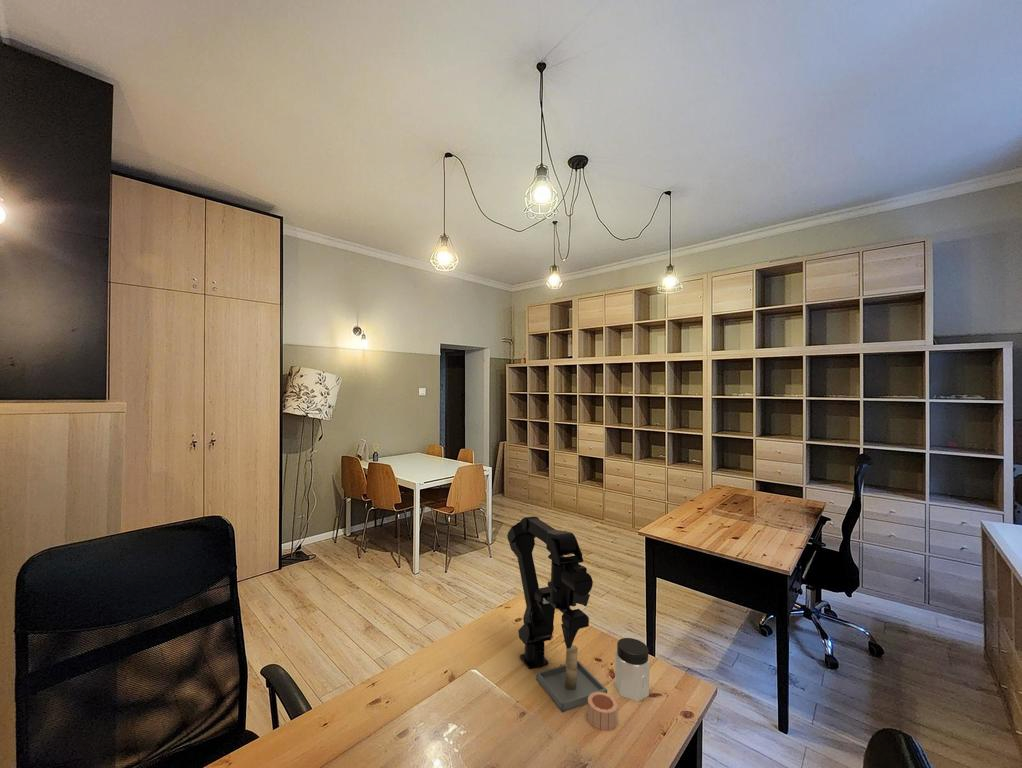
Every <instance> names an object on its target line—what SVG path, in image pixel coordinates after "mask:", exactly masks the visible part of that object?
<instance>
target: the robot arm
mask: <svg viewBox="0 0 1022 768" xmlns="http://www.w3.org/2000/svg"><path fill="white" fill-rule="evenodd" d="M506 537H507V541H508V543H509V548H510V550H511V551H512V552H513V554H514V555H515V556H516V558H517V563H518V566H519V567H518V568H519V574H520V579H521V583H522V589H523V594H524V595H523V596H524V600H525V605H526V606H525V611H524V614H523V617H522V619H523V625H521V627H520V628H519V629H517V630H518V639H520V641H521V643H523V645H524V653H521V654H520V655H519V657H520V659H521V660H522V661H523V663H524V664H525V665H526V667H528V669H530V670H531V669H535V668H539V667H542V666H546V665H548V664H549V660H548V659H547V658H546V657H545V646H546V645H545V642H547V641H551V640H552V636H553V633H554V628H555V626H554V621H555V613H556V610H559V611H560V612H561V613H562V615H561V622H562V623H561V624H560V626H561V631H562V635H563V639H564V644H565V647H566V648H567V649H569V648H571V646H572V645H573V643H574V641H575V637H576V636H577V633H578V632H579V630H580V629H584V628H588V627H589V626H590V617H589V616H588V615H587V614H586V613H585V612H583V611H582V610H581V609H580V608H576V609H572V608H571V607H576V606H577V604H578V605H582V606H584V607H587V605H588V603H589V599H590V596H591V594H590V592H591V590H592V589H593V584H594V580H593V578H592V577H593V576H592V575H590V574H589V573H588V572H587V571H588V570H587V567H586V566H584V565H582V564H581V563H584V558H583V553H582V551H581V548H580V545H579V543H578V540H577V538H576V536H575V534H574V533H573V532H571V531H567V530H560V529H559V530H558V529H556V528H554V527H552V526H551V525H549V524H548V523H547V522H546V523H545V522H544V521H542V520H541V519H540V518H539V516H535V515H533V516H525V517H523V518H522V519H521V520H520V521H519V522H517V523H516V524H514V525H513V526H511V528H509V530H508V532H507V535H506ZM536 538H537V539H538V540H540V541H541V542H543V543H544V544H545V545H546V550H547V551H548V552H549V553H550V554H549V555H548V556H547V557H548V559H549V560H551V562H550V563H551V565H550V566H551V567H550V581H547V586H544V587H539V581H538V577H537V571H536V565H535V561H534V556H533V551H534V548H535V544H536V541H535V539H536ZM568 555H571V556H568Z"/></svg>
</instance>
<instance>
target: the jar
mask: <svg viewBox="0 0 1022 768" xmlns="http://www.w3.org/2000/svg"><path fill="white" fill-rule="evenodd" d="M650 663H651V661H650V660H649V648H648V645H646V644H645V642H643V641H641V640H638V639H635V638H633V637H623V638H620V639H619V640H618V641H617V643H616V651H615V665H614V666H615V667H614V669H615V670H614V686H615V688H616V690H617V692H618V694H619V696H621V697H623V698H626V699H629V700H632V701H634V702H638V703H639V702H640V701H641V700H643V699H645V698H647V697H649V695H650Z"/></svg>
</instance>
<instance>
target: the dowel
mask: <svg viewBox="0 0 1022 768" xmlns="http://www.w3.org/2000/svg"><path fill="white" fill-rule="evenodd" d="M565 650H566V651H565V653H566V655H565V664H566V674H565V687H566V688H567V689H568V690H575V689H576V682H577V661H578V651H579V650H578V646H576V645H574V644H572V646H571V648H569V649H567V648H566V649H565Z"/></svg>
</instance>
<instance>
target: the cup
mask: <svg viewBox="0 0 1022 768" xmlns="http://www.w3.org/2000/svg"><path fill="white" fill-rule="evenodd" d="M586 705H587V707H586V708H587V709H586V716H587V721H588V722H589V723H590V725H592V726H593V727H594V728H596V729H599V730H602V731H611V730H614V729H615V728H616V727H617V724H618V716H619V715H618V713H619V712H618V711H619V706H618V701H617V700H616V698H614V697H613V696H612V695H611V694H609V693H608V692H607V693H604V692H594V693H591V694H590V695H589V697H588V704H586Z"/></svg>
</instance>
